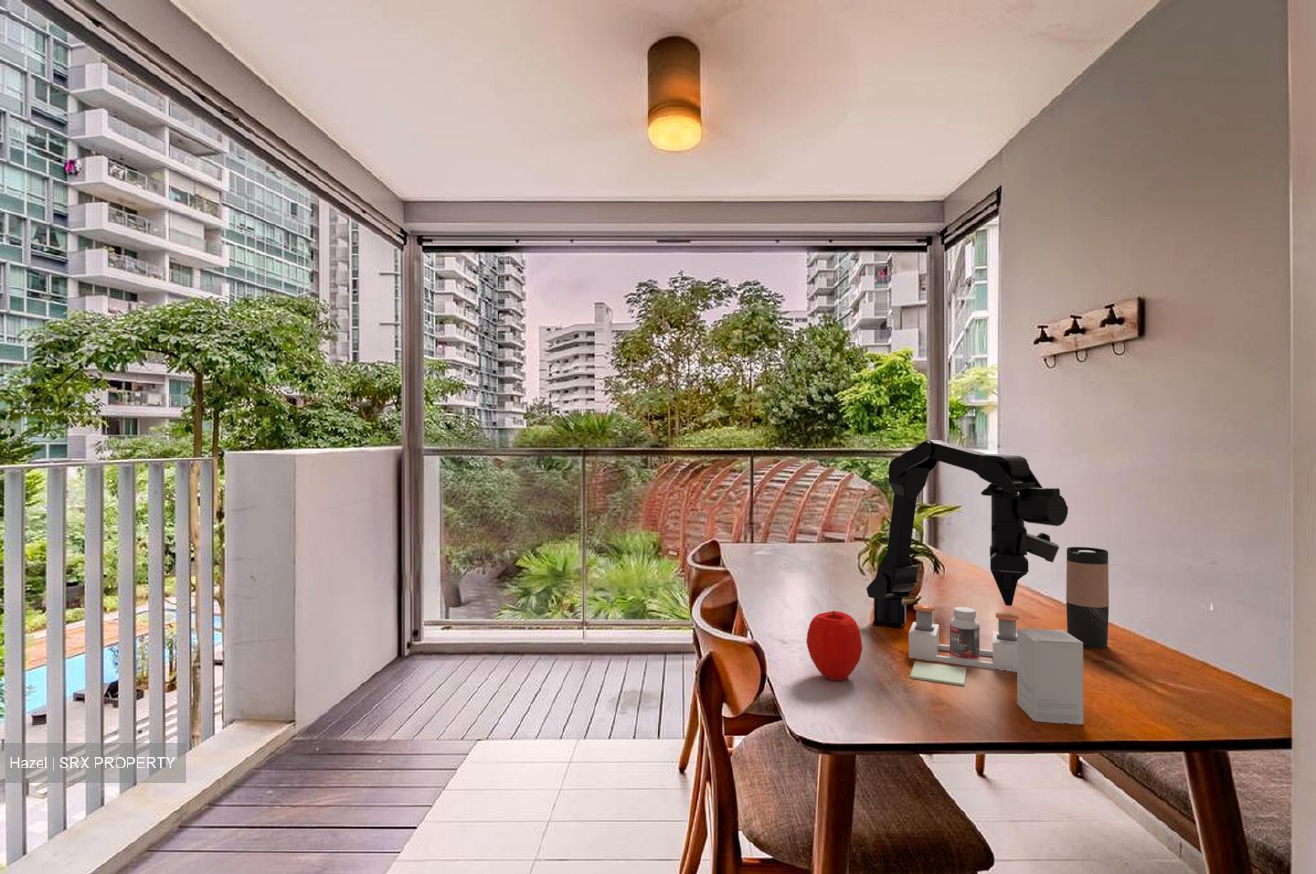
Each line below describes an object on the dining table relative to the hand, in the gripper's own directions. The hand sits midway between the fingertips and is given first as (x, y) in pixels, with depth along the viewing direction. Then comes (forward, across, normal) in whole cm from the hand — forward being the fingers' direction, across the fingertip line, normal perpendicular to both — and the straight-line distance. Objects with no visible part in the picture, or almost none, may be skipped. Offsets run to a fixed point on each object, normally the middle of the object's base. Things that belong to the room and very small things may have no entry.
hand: (1008, 601), depth 132 cm
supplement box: (+12, -24, -5) cm, 28 cm away
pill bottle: (+12, 0, +8) cm, 15 cm away
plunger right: (+8, 0, 0) cm, 8 cm away
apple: (+12, -22, +29) cm, 38 cm away
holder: (+12, 0, +8) cm, 14 cm away
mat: (+12, -12, +12) cm, 21 cm away
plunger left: (+8, 0, +15) cm, 17 cm away
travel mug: (+12, +22, -16) cm, 29 cm away
